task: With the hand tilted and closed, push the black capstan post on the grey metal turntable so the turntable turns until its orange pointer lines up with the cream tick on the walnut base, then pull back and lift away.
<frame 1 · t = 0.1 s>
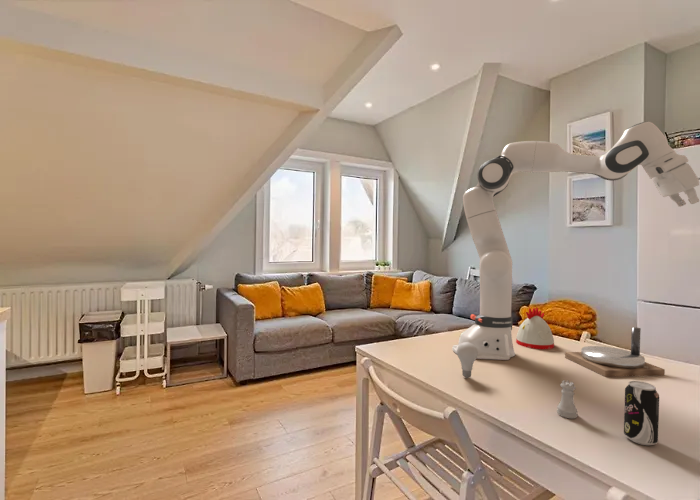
hand: (688, 204, 116), 54 cm above the table, tool tilted 30°, fingers open, 8 cm apart
lightbulb: (466, 378, 114), on the table
beverage can: (640, 441, 79), on the table
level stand: (611, 366, 126), on the table
rook chess piece: (567, 415, 90), on the table
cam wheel: (614, 343, 126), point 8 cm above the table, hinge at 0.0°
kitchen timer: (534, 344, 152), on the table
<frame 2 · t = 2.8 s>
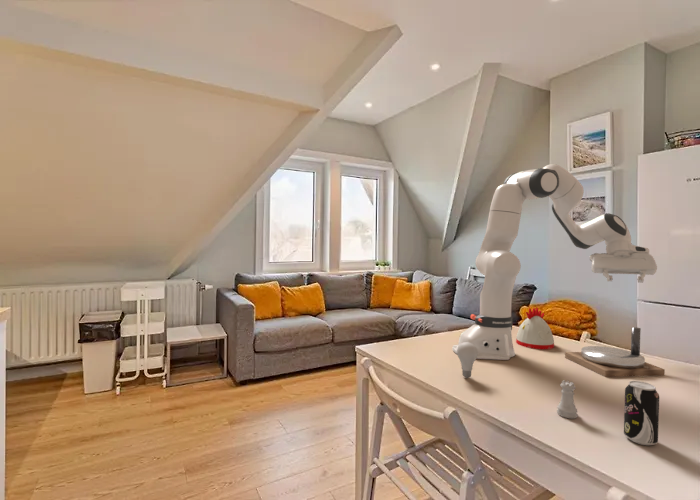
hand: (625, 281, 139), 28 cm above the table, tool tilted 45°, fingers open, 8 cm apart
nothing on the table moved.
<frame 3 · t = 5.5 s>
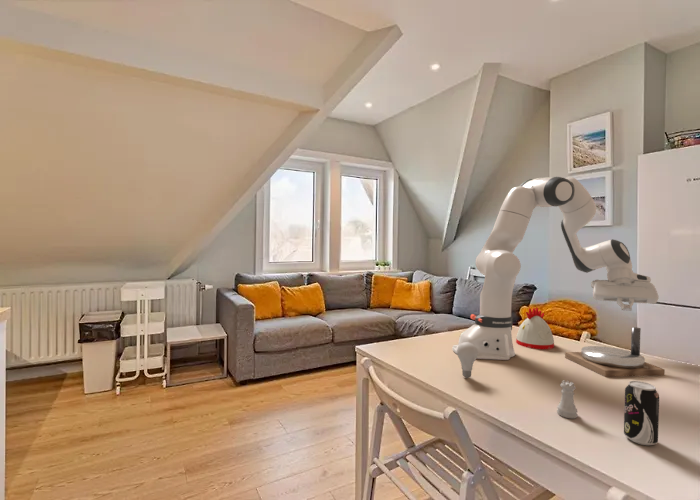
hand: (626, 309, 138), 17 cm above the table, tool tilted 45°, fingers closed
nothing on the table moved.
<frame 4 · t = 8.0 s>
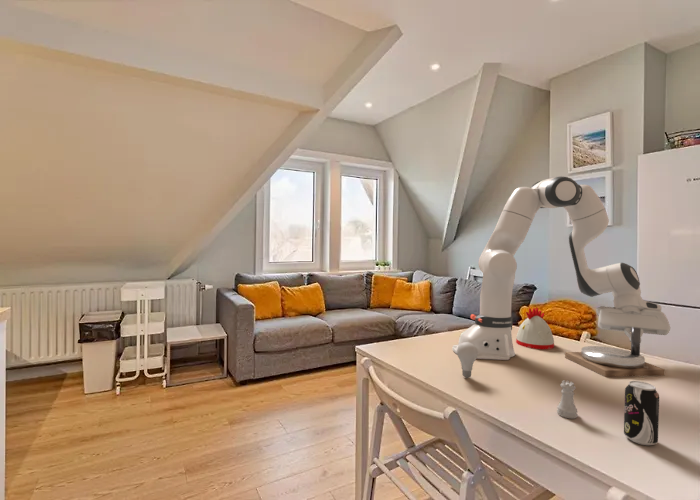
hand: (635, 341, 127), 8 cm above the table, tool tilted 45°, fingers closed
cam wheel: (614, 343, 126), point 8 cm above the table, hinge at 0.0°, touching gripper
everything else where it was.
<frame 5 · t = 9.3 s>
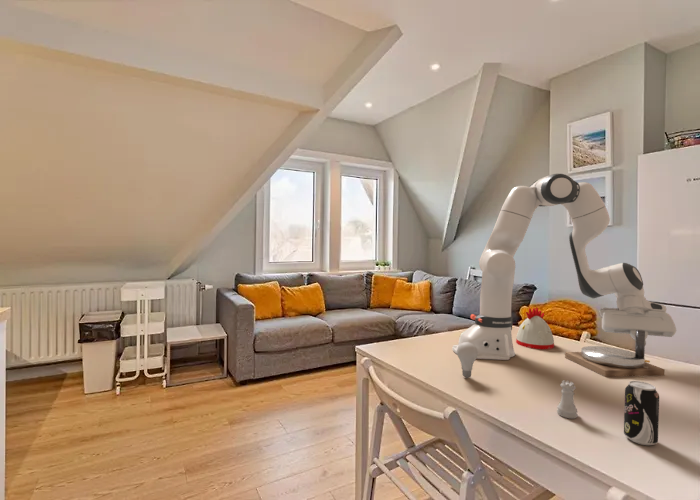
hand: (641, 344, 123), 8 cm above the table, tool tilted 45°, fingers closed, pressing on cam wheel
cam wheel: (614, 343, 125), point 8 cm above the table, hinge at -29.8°, touching gripper
everything else where it was.
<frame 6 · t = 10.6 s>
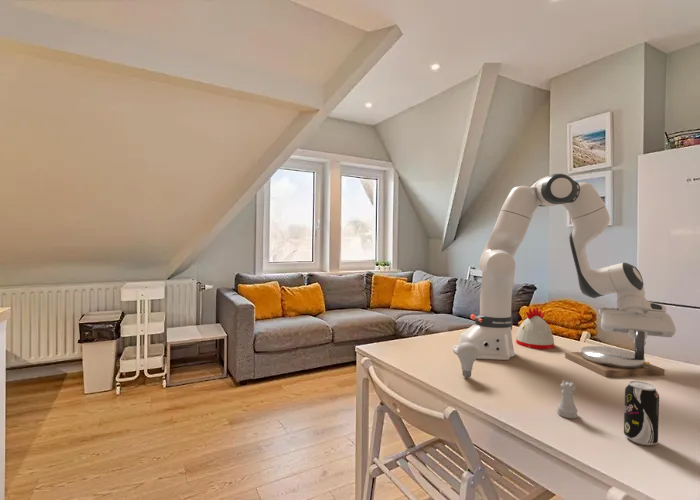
hand: (639, 344, 122), 9 cm above the table, tool tilted 45°, fingers closed
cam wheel: (614, 343, 125), point 8 cm above the table, hinge at -42.2°
everything else where it was.
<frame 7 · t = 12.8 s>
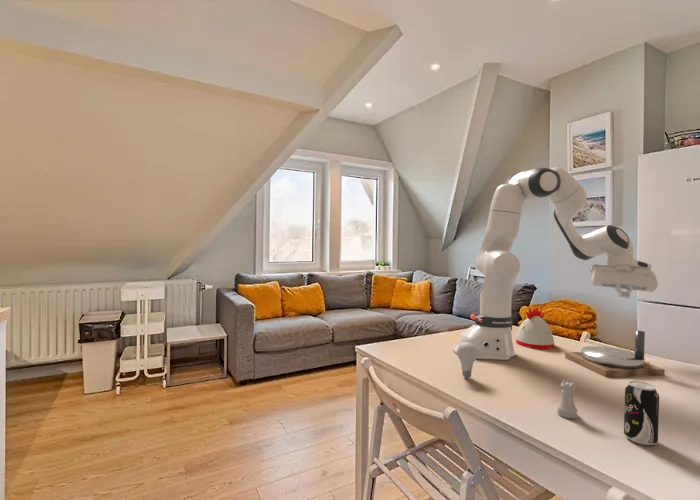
hand: (624, 296, 136), 22 cm above the table, tool tilted 40°, fingers closed
nothing on the table moved.
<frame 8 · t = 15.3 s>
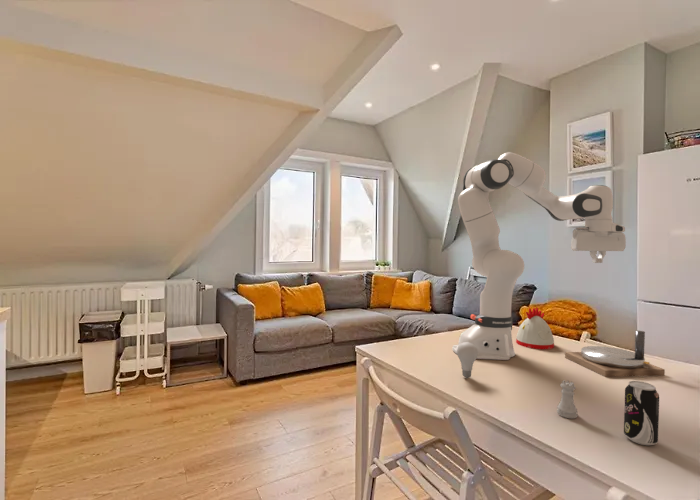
hand: (597, 262, 145), 34 cm above the table, tool pointing down, fingers closed
nothing on the table moved.
at the end: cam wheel at -42° (first picture: +0°); kitchen timer moved 0.3 cm from its start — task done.
